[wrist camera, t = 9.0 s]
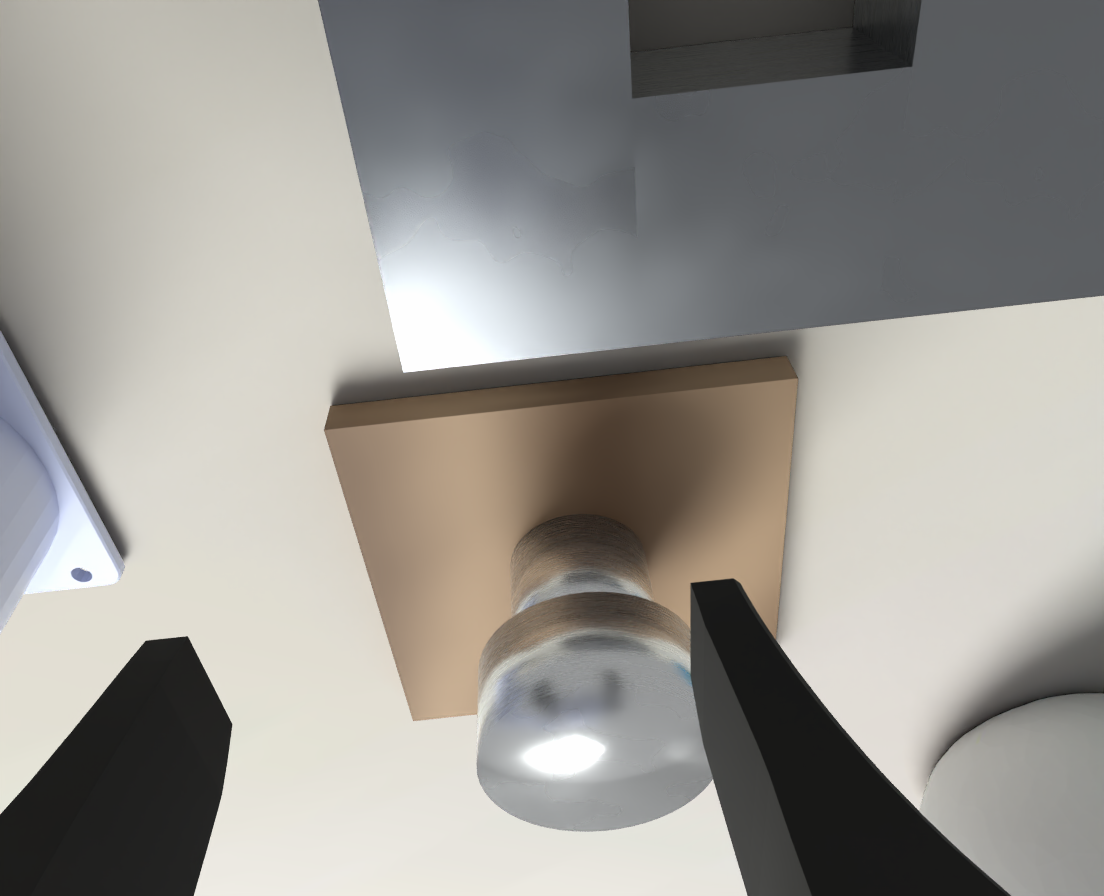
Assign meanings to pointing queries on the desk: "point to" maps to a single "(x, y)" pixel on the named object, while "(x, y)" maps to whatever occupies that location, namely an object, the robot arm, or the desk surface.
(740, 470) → the pad
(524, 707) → the end cover
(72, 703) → the desk surface
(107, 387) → the desk surface
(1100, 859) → the decorative egg
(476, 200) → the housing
